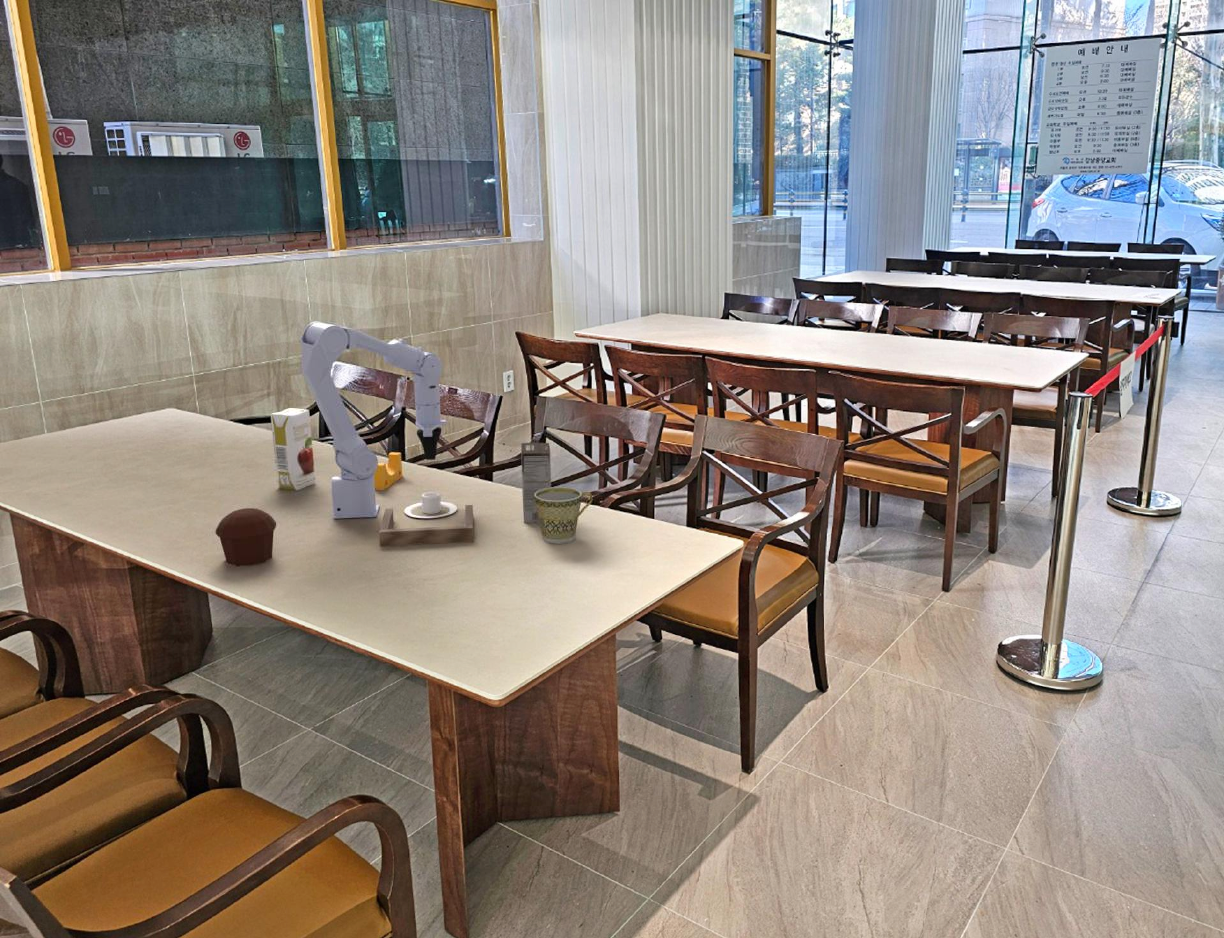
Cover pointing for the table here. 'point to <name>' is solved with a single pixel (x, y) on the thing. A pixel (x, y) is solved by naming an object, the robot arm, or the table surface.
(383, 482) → the yellow notched block
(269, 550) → the muffin
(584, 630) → the table surface
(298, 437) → the juice carton
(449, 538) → the walnut cradle
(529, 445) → the coffee box
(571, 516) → the ceramic cup
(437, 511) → the candle holder
